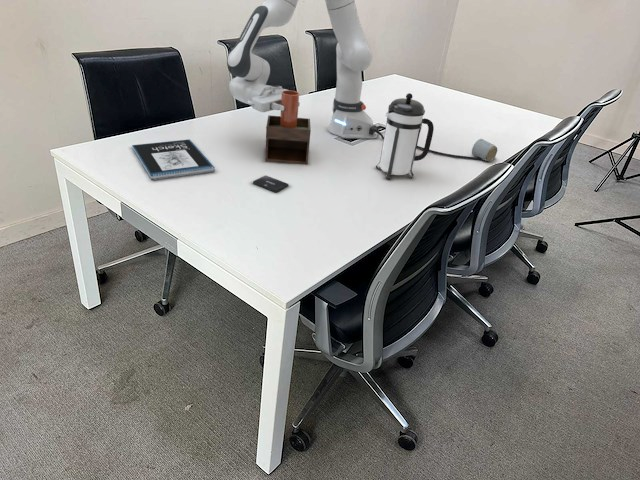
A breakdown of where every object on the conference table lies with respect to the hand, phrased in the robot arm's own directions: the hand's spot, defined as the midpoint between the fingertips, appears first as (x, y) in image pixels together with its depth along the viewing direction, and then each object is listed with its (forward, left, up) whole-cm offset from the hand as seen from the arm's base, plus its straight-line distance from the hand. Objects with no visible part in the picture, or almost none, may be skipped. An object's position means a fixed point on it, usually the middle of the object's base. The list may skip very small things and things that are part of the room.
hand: (291, 106), depth 168 cm
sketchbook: (+42, +10, -20) cm, 47 cm away
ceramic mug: (-83, -15, -20) cm, 87 cm away
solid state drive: (+6, +25, -20) cm, 33 cm away
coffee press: (-41, +7, -20) cm, 46 cm away
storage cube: (+1, -1, -20) cm, 20 cm away
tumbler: (+1, -1, -7) cm, 7 cm away
